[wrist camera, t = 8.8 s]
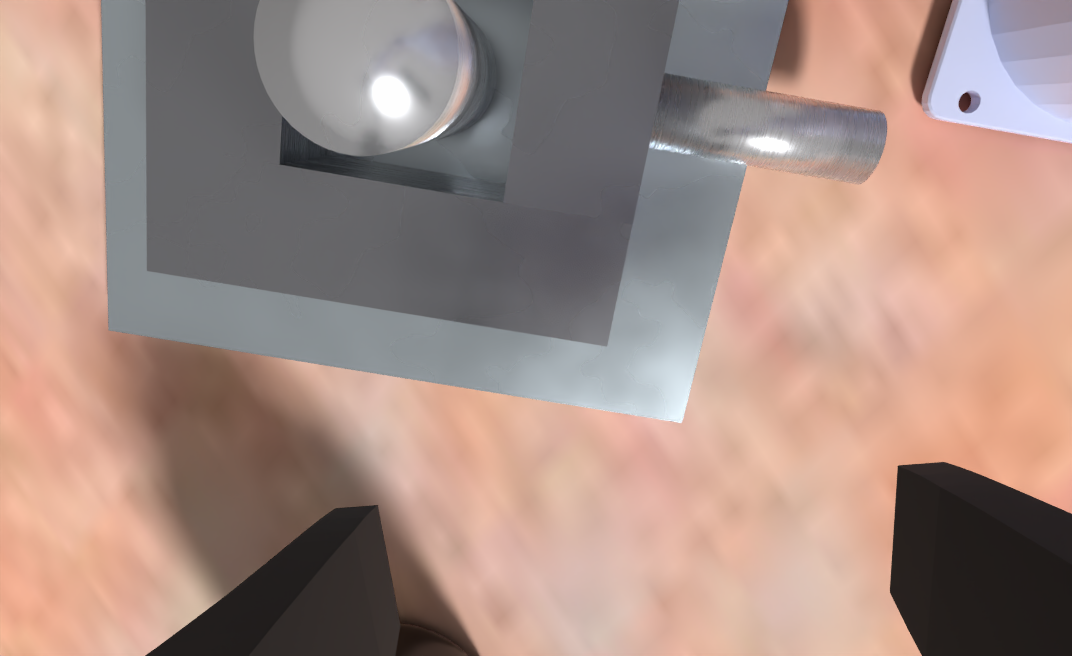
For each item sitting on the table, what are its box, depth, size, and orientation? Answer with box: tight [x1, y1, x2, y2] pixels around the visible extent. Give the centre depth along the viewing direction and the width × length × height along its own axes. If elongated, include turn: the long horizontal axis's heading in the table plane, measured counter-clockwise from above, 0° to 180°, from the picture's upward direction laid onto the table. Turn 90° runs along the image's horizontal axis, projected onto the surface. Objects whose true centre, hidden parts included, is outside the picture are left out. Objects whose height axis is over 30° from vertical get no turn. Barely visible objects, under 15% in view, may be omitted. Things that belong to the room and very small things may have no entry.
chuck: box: [101, 0, 887, 423], centre depth 16 cm, size 18×16×4 cm
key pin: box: [254, 0, 496, 156], centre depth 13 cm, size 3×3×7 cm
